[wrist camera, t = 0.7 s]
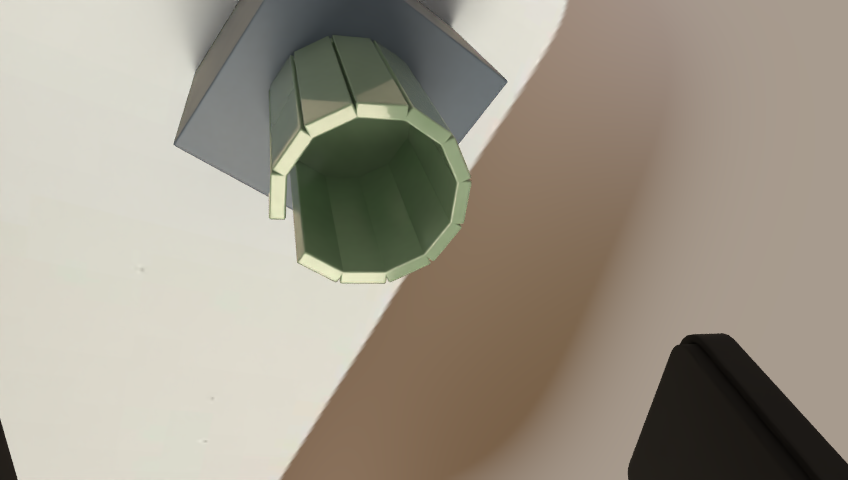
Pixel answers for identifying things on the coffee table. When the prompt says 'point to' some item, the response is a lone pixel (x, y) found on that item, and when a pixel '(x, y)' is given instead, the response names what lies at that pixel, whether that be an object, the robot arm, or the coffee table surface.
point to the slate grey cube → (303, 25)
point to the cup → (362, 162)
